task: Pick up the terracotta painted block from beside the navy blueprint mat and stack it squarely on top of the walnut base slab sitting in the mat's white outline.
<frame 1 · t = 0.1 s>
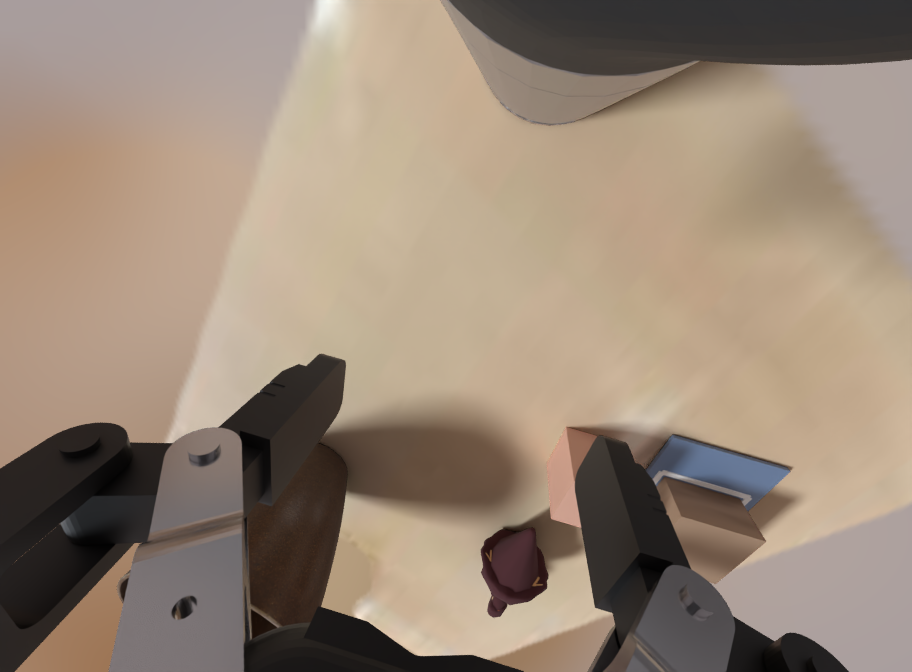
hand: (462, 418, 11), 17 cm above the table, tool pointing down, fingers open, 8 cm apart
blueprint mat: (685, 500, 34), on the table
plant pot: (318, 463, 41), on the table
walnut base: (681, 510, 34), resting on blueprint mat
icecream: (513, 534, 41), on the table
terracotta block: (581, 452, 33), on the table
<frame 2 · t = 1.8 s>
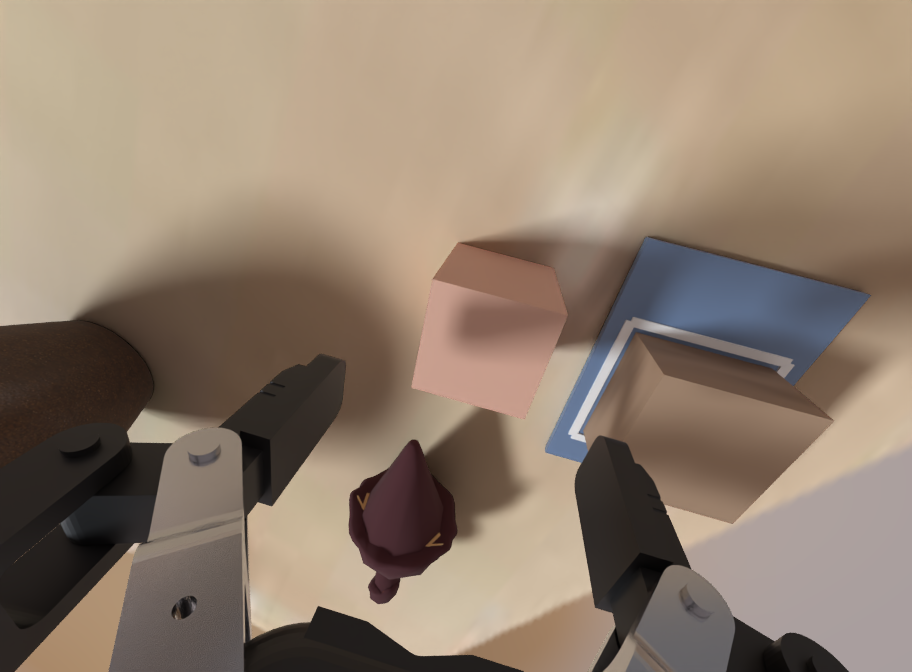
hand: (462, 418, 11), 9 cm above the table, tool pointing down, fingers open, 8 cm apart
blueprint mat: (675, 384, 19), on the table
plant pot: (110, 365, 26), on the table
walnut base: (668, 402, 20), resting on blueprint mat
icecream: (415, 475, 27), on the table
terracotta block: (492, 299, 19), on the table
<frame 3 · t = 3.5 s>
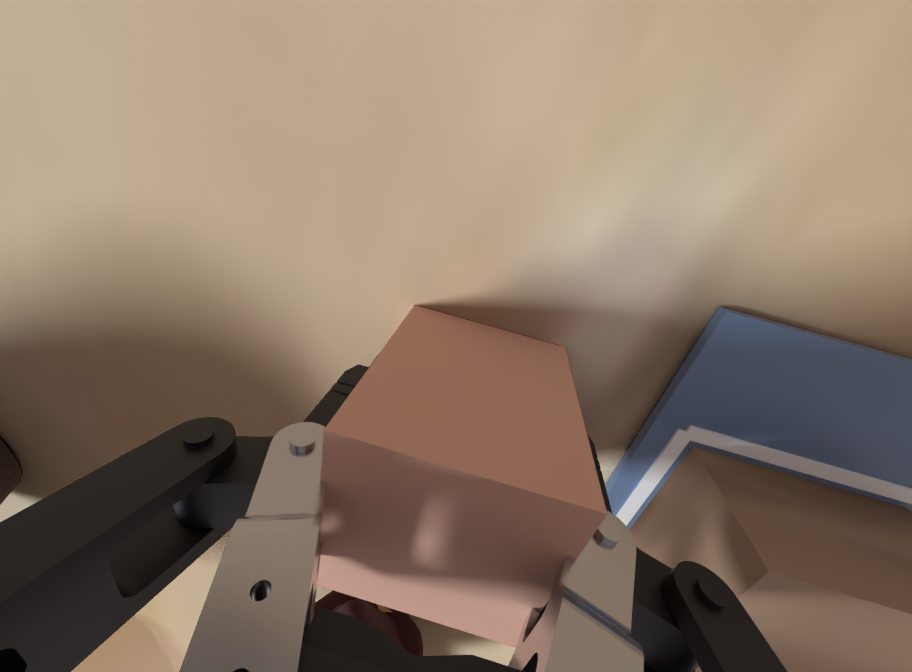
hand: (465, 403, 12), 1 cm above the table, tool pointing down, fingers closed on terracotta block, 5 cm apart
blueprint mat: (744, 513, 13), on the table
walnut base: (734, 539, 13), resting on blueprint mat
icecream: (374, 593, 20), on the table
terracotta block: (470, 387, 12), on the table, touching gripper
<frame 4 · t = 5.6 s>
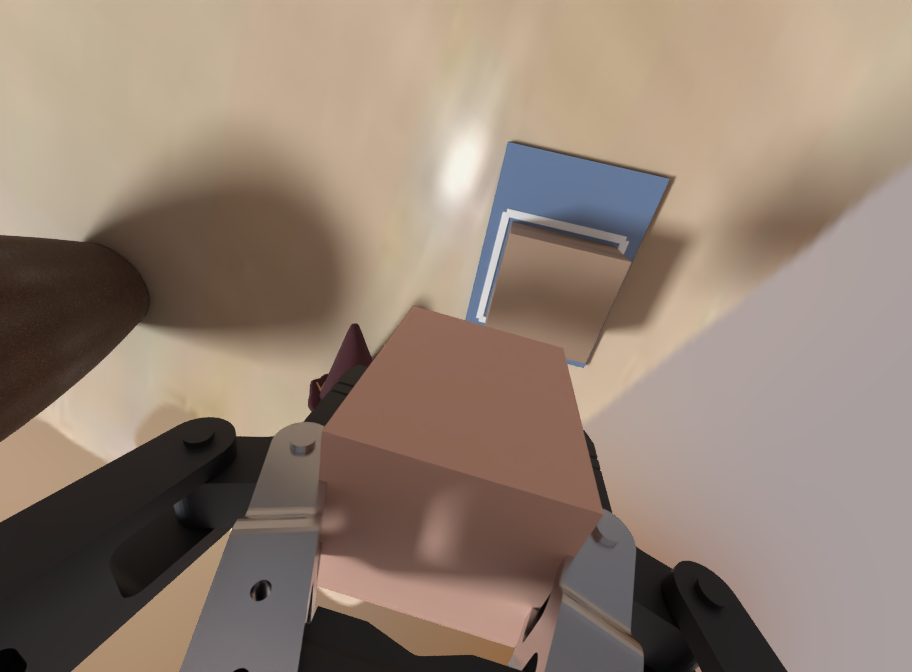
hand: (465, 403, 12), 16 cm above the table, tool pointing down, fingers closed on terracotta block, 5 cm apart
blueprint mat: (550, 267, 25), on the table
plant pot: (114, 284, 32), on the table
walnut base: (546, 282, 25), resting on blueprint mat
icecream: (368, 377, 32), on the table
terracotta block: (468, 388, 12), point 15 cm above the table, touching gripper
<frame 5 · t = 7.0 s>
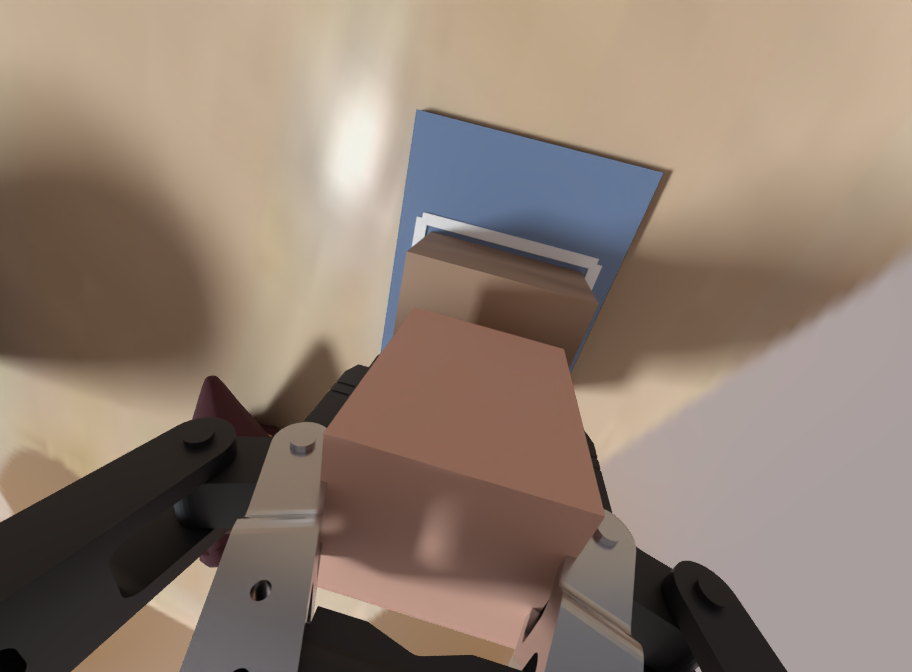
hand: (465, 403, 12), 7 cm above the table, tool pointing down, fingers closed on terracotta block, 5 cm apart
blueprint mat: (491, 298, 17), on the table
walnut base: (485, 319, 18), resting on blueprint mat
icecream: (266, 432, 25), on the table
terracotta block: (469, 389, 12), point 6 cm above the table, touching gripper
when the fingers open (7 cm above the table, at t = 7.9 s): terracotta block drops 1 cm, resting on walnut base.
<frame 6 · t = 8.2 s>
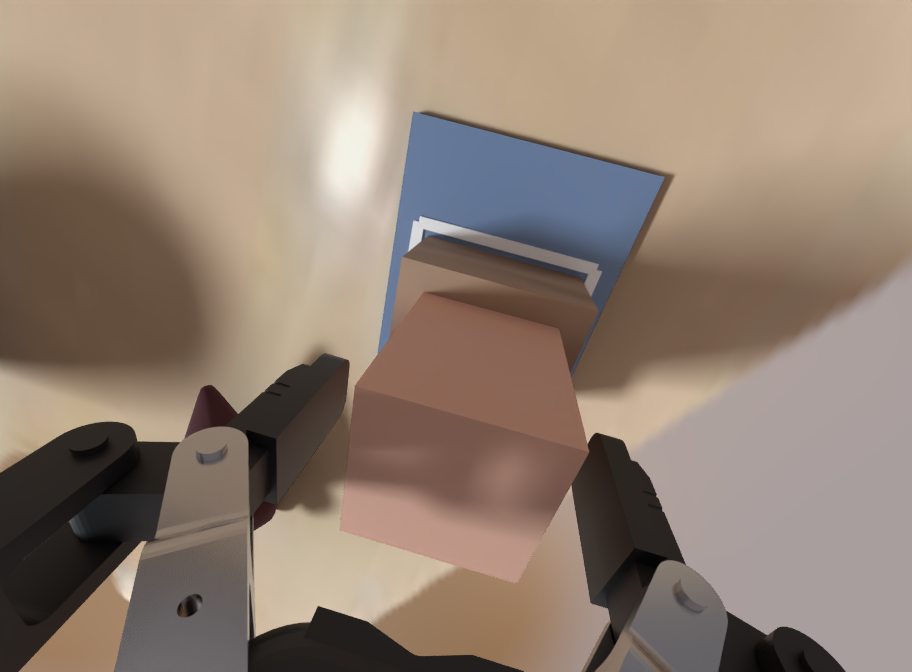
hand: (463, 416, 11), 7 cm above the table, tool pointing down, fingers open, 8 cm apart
blueprint mat: (489, 303, 17), on the table
walnut base: (483, 324, 17), resting on blueprint mat, touching terracotta block
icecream: (263, 439, 24), on the table
terracotta block: (474, 367, 14), point 4 cm above the table, touching walnut base
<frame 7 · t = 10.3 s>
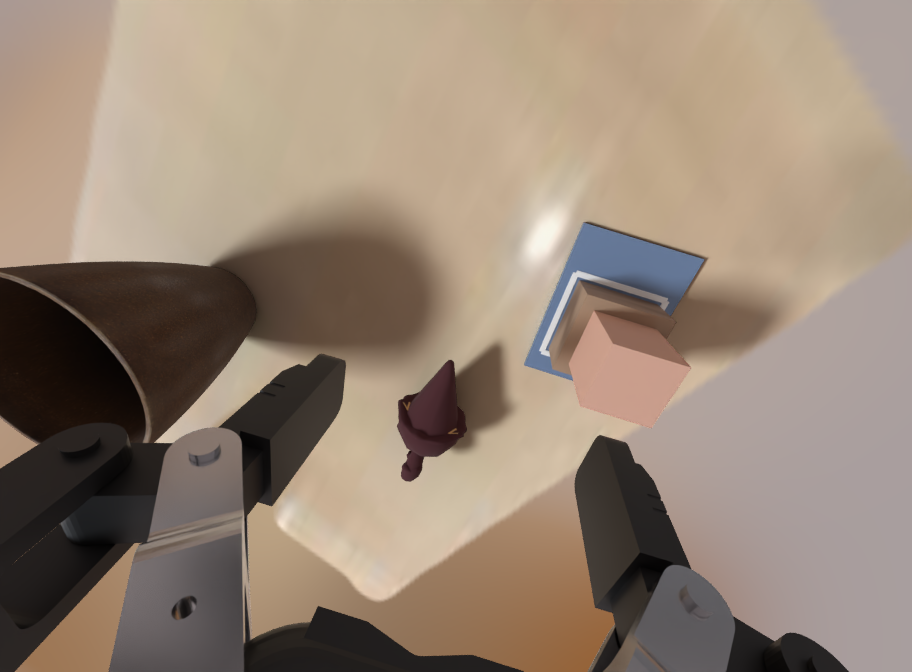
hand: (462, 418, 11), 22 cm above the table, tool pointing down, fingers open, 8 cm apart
blueprint mat: (604, 316, 32), on the table
plant pot: (226, 302, 38), on the table
walnut base: (600, 327, 32), resting on blueprint mat, touching terracotta block
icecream: (437, 399, 39), on the table
terracotta block: (610, 347, 28), point 4 cm above the table, touching walnut base
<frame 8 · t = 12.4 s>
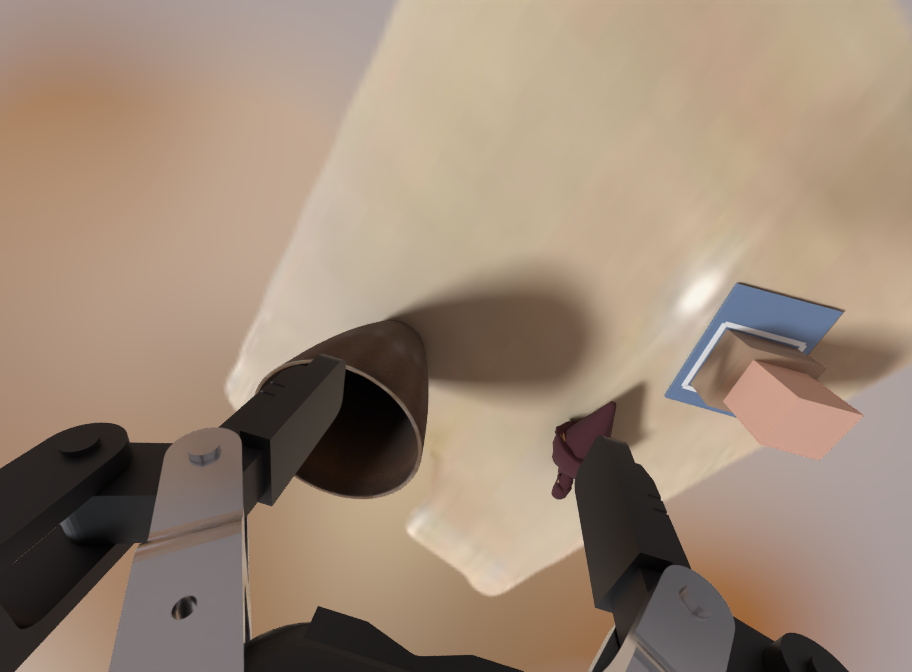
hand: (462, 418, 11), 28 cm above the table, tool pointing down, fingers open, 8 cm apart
blueprint mat: (743, 356, 37), on the table
plant pot: (395, 347, 44), on the table
walnut base: (740, 366, 37), resting on blueprint mat, touching terracotta block
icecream: (577, 428, 45), on the table
terracotta block: (763, 388, 34), point 4 cm above the table, touching walnut base
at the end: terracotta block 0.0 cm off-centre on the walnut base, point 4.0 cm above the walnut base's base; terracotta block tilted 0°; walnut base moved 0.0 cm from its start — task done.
